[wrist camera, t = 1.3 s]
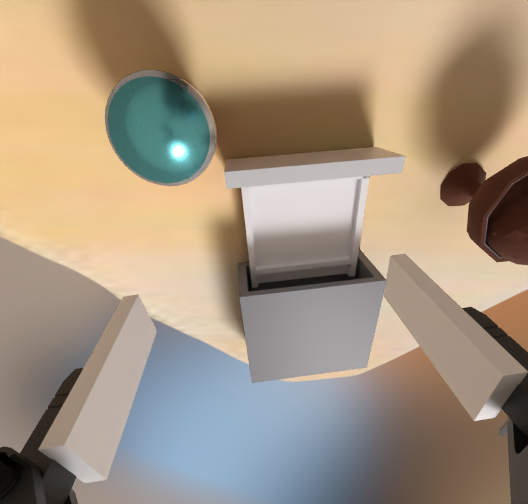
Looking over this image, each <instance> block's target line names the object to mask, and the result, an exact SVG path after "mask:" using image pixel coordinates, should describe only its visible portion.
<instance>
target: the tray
mask: <svg viewBox="0 0 528 504" xmlns="http://www.w3.org/2000/svg"><path fill="white" fill-rule="evenodd" d="M404 160H405V156H403V155H400V154H397V153H394V152H390V151H387V150H384V149H381V148H378V147H367V148H355V149H344V150H332V151H320V152H308V153H297V154H285V155H273V156H261V157H250V158H238V159H226V164H225V171H224V173H225V180H226V187H227V189H230V188H241V190H242V200H243V209H244V218H245V227H246V236H247V245H248V255H249V264H250V273H251V282H252V288H255V287H258V283H266V282H275V281H284V280H293V279H301V278H310V277H319V276H328V275H337V274H346V273H347V274H348V276H349V277H351V276H355V273H356V266H357V259H358V252H359V245H360V239H361V232H362V225H363V218H364V211H365V204H366V198H367V191H368V184H369V177H370V176H372V175H383V174H394V173H402V170H403V165H404Z"/></svg>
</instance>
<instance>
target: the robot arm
mask: <svg viewBox="0 0 528 504" xmlns="http://www.w3.org/2000/svg"><path fill="white" fill-rule="evenodd" d="M384 297H385V298H386V300H387V301H388V303H389V304H390V305H391V307H392V308H393V309H394V311H395V312H396V314H397V315H398V316H399V318H400V319H401V321H402V322H403V323H404V325H405V326H406V327H407V329H408V330H409V332H410V333H411V334H412V336H413V337H414V338H415V340H416V341H417V343H418V344H419V345H420V347H421V348H422V350H423V351H424V352H425V353H426V355H427V356H428V358H429V359H430V361H431V362H432V363H433V365H434V366H435V367H436V369H437V370H438V372H439V373H440V374H441V376H442V377H443V379H444V380H445V381H446V383H447V384H448V386H449V387H450V388H451V390H452V391H453V392H454V394H455V395H456V397H457V398H458V399H459V400H460V402H461V404H462V405H463V406H464V408H465V409H466V410H467V412H468V413H469V414H470V416H471V417H472V419H473V420H474V421H477V420H483V419H489V418H495V417H496V416H497V414H498V413H499V412H500V410H501V409H503V411H504V412H505V413H506V414H507V415H508V417H509V419H508V420H507V421H506V422H505V424H504V425H503V426H502V428H501V429H500V432H499V434H500V435H502V436H504V434H505V433H506V432H507V433H508V450H509V451H508V452H509V472H510V491H511V504H528V352H527V351H526V350H524V349H523V348H522V347H521V346H520V345H519V344H518V343H516V341H514V340H513V339H512V338H511V337H510V336H509V337H508V336H507V334H506V333H505V332H504V331H503V330H502V329H501V328H498V326H497V325H496V324H495V323H494V322H493V321H492V320H491V319H490V318H488V317H487V316H486V315H485V314H483V313H481V312H479V311H478V310H476V309H474V308H472V307H467V308H461V307H460V306H459V305H458V304H457V303H456V302H455V301H454V300H453V299H452V298H451V297H450V296H449V295H447V294H446V293H445V292H444V291H443V290H442V289H441V288H440V287H439V286H438V285H437V284H436V283H435V282H434V281H433V280H432V279H431V278H430V277H429V276H428V275H427V274H426V273H425V272H423V271H422V270H421V269H420V268H419V267H418V266H417V265H416V264H415V263H414V262H413V261H412V260H411V259H410V258H409V257H408V256H407V255H406V254H400V255H393V256H390V261H389V267H388V273H387V279H386V285H385V291H384ZM156 332H157V330H156V328H155V326H154V324H153V322H152V320H151V318H150V316H149V314H148V312H147V310H146V308H145V307H144V305H143V303H142V301H141V299H140V297H139V295H132V296H126V297H123V299H122V300H121V302H120V304H119V306H118V308H117V309H116V311H115V313H114V315H113V317H112V318H111V320H110V322H109V324H108V326H107V328H106V329H105V331H104V333H103V335H102V336H101V338H100V340H99V342H98V343H97V345H96V347H95V349H94V351H93V352H92V354H91V356H90V358H89V359H88V361H87V363H86V365H85V367H84V368H80V369H75V370H74V371H73V372H72V373H71V374H70V375H69V376H68V377H67V378H66V379H65V380H64V382H63V383H62V385H61V386H60V388H59V390H58V391H57V393H56V395H55V398H53V400H52V401H51V403H50V405H49V406H48V410H46V411H45V413H44V414H43V416H42V418H41V419H40V421H39V423H38V424H37V426H36V428H35V429H34V431H33V433H32V434H31V436H30V438H29V439H28V441H27V443H26V444H25V446H24V448H23V449H22V451H21V453H20V454H19V453H18V452H16V451H15V450H13V449H12V448H9V447H1V448H0V504H78V502H77V498H76V495H75V492H74V491H73V489H72V486H73V483H74V481H75V479H76V477H77V478H78V479H80V480H81V481H82V482H84V483H89V482H96V481H102V480H107V477H108V473H109V471H110V468H111V465H112V462H113V458H114V456H115V453H116V450H117V447H118V444H119V441H120V438H121V435H122V432H123V429H124V427H125V424H126V421H127V417H128V415H129V412H130V409H131V406H132V403H133V400H134V397H135V394H136V391H137V388H138V385H139V382H140V379H141V376H142V373H143V370H144V367H145V364H146V362H147V359H148V356H149V353H150V350H151V347H152V343H153V341H154V338H155V335H156Z"/></svg>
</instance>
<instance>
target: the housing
mask: <svg viewBox="0 0 528 504" xmlns="http://www.w3.org/2000/svg"><path fill="white" fill-rule="evenodd" d="M238 267H239V298H240V305H241V312H242V319H243V326H244V333H245V339H246V346H247V353H248V360H249V367H250V373H251V380H252V383H255V382H263V381H270V380H278V379H285V378H292V377H300V376H307V375H315V374H322V373H330V372H337V371H344V370H352V369H359V368H367V364H368V360H369V355H370V351H371V346H372V342H373V338H374V333H375V329H376V324H377V320H378V316H379V311H380V307H381V302H382V298H383V293H384V289H385V285H386V279H385V278H384V277H383V276H382V275H381V273H380V272H379V271H378V270H377V269H376V268H375V266H374V265H373V264H372V263H371V262H370V261H369V259H368V258H367V257H366V256H365V255H364V254H363V252H362V251H361V250H359V252H358V259H357V266H356V273H355V276H351V277H349V276H348V274H347V273H346V274H337V275H328V276H319V277H310V278H301V279H293V280H284V281H275V282H266V283H258V287H255V288H252V282H251V273H250V264H249V262H247V263H238Z"/></svg>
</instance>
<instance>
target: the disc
mask: <svg viewBox="0 0 528 504" xmlns="http://www.w3.org/2000/svg"><path fill="white" fill-rule="evenodd" d="M105 125H106V131H107V134H108V138H109V141H110V143H111V145H112V147H113V149H114V151H115V153H116V154H117V156H118V157H119V159H120V160H121V161H122V162H123V163H124V165H125V166H127V167H128V168H129V169H130V170H131V171H132V172H133V173H135V174H136V175H138V176H139V177H141V178H142V179H145V180H147V181H149V182H152V183H154V184H158V185H164V186H177V185H182V184H186V183H188V182H190V181H193V180H194V179H196V178H197V177H198V176H200V175H201V174H202V173H203V172H204V171H205V169H206V168H207V167H208V165H209V163H210V161H211V159H212V157H213V154H214V151H215V148H216V143H217V127H216V122H215V119H214V115H213V113H212V111H211V108H210V106H209V105H208V103H207V101H206V100H205V99H204V97H203V96H202V95H201V94H200V92H199V91H198V90H197V89H196V88H194V87H193V86H192V85H191V84H189V83H188V82H186V81H185V80H183V79H181V78H179V77H176V76H174V75H172V74H169V73H166V72H163V71H157V70H143V71H138V72H135V73H132V74H130V75H128V76H126V77H125V78H123V79H122V80H121V81H120V82H119V83H118V84H117V85H116V86H115V87H114V89H113V90H112V92H111V93H110V96H109V98H108V101H107V105H106V110H105Z"/></svg>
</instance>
